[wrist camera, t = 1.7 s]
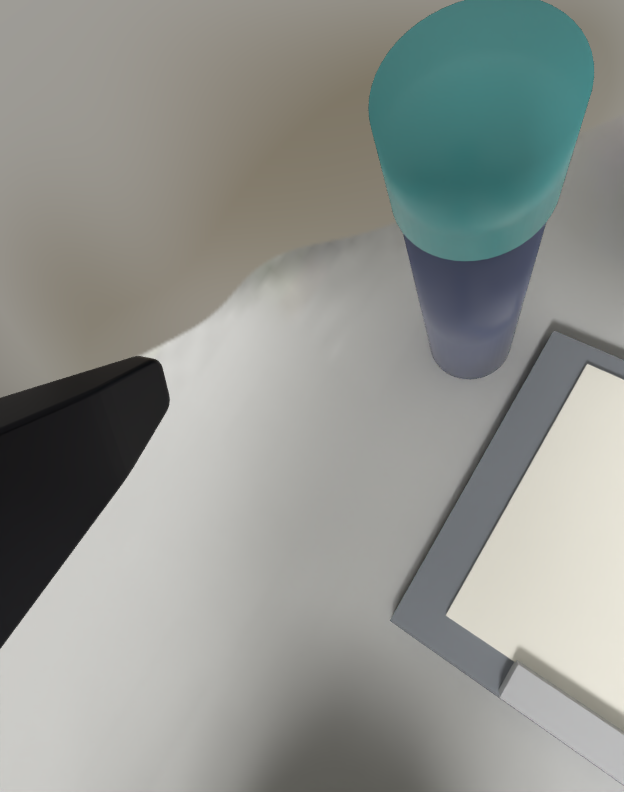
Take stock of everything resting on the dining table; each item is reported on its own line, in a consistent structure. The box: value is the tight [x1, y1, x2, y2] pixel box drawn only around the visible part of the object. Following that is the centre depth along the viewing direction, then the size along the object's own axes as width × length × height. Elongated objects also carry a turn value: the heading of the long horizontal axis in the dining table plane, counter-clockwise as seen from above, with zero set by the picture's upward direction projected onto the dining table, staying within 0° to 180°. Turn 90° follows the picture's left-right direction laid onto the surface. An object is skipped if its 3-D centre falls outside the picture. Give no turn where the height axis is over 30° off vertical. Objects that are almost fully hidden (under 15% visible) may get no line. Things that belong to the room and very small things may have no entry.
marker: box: [369, 0, 594, 379], centre depth 14 cm, size 3×3×13 cm
